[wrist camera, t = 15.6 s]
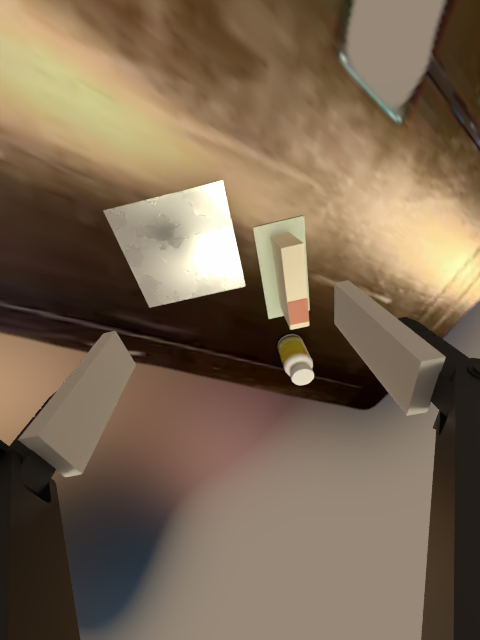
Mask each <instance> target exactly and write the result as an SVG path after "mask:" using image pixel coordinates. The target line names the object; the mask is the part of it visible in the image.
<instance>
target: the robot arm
mask: <svg viewBox="0 0 480 640" xmlns="http://www.w3.org/2000/svg"><path fill="white" fill-rule="evenodd" d="M335 325H336V326H337V327H338V329H339V330H340V331H341V332H342V334H343V335H344V336H345V338H346V339H347V340H348V341H349V343H350V344H351V345H352V347H353V348H354V349H355V350H356V352H357V353H358V354H359V355H360V357H361V358H362V359H363V361H364V362H365V363H366V364H367V366H368V367H369V368H370V370H371V371H372V372H373V373H374V375H375V376H376V377H377V378H378V380H379V381H380V382H381V384H382V385H383V386H384V387H385V389H386V390H387V391H388V393H389V394H390V395H391V396H392V398H393V399H394V400H395V401H396V403H397V404H398V405H399V407H400V408H401V409H402V410H403V412H404V413H405V414H406V415H414V414H419V413H424V412H427V411H428V409H429V406H430V403H431V402H432V403H433V404H434V405H435V406H436V407H437V408H438V409H439V413H438V415H437V418H436V421H435V423H434V426H433V428H434V429H436V443H435V456H434V471H433V485H432V498H431V512H430V526H429V540H428V553H427V568H426V582H425V595H424V597H425V598H424V610H423V624H422V637H421V640H480V359H477V358H468V357H467V356H465V355H464V354H462V353H461V352H460V351H458V350H457V349H455V348H454V347H453V346H451V345H450V344H448V343H447V342H446V341H444V340H443V339H442V338H440V337H439V336H436V334H435V333H433V332H432V331H431V330H428V328H426V327H425V326H424V325H422V324H421V323H419V322H417V321H415V320H412V319H410V318H407V317H403V318H398V319H397V318H396V317H394V316H393V315H392V314H390V313H389V312H388V311H387V310H385V309H384V308H383V307H382V306H380V305H379V304H378V303H376V302H375V301H374V300H373V299H371V298H370V297H369V296H368V295H366V294H365V293H364V292H362V291H361V290H360V289H359V288H357V287H356V286H355V285H354V284H352V283H351V282H350V281H348V280H347V281H343V282H338V283H335ZM135 365H136V364H135V362H134V361H133V359H132V357H131V356H130V354H129V352H128V351H127V349H126V347H125V346H124V344H123V342H122V341H121V339H120V338H119V336H118V334H117V333H116V331H113V332H108V333H104V334H103V335H102V336H101V337H100V339H99V340H98V341H97V342H96V343H95V345H94V346H93V347H92V348H91V350H90V351H89V352H88V353H87V355H86V356H85V357H84V358H83V360H82V361H81V362H80V363H79V365H78V366H77V367H76V368H75V369H74V371H73V372H72V373H71V374H70V376H69V377H68V378H67V379H66V381H65V382H64V383H63V384H62V386H61V387H60V388H59V389H58V391H56V392H55V393H54V394H53V395H52V396H51V397H49V399H48V400H47V401H46V402H45V403H44V405H43V406H42V409H40V410H39V411H38V412H37V413H36V414H35V417H33V418H32V419H31V420H30V422H29V423H28V424H27V425H26V427H25V428H24V429H23V430H22V431H21V433H20V434H19V435H18V436H17V438H16V439H15V440H14V441H13V443H12V444H11V445H10V446H8V445H7V444H5V443H4V442H3V441H1V440H0V640H80V635H79V629H78V623H77V616H76V609H75V603H74V596H73V590H72V584H71V577H70V571H69V565H68V558H67V552H66V545H65V539H64V533H63V526H62V519H61V513H60V507H59V501H58V494H57V487H56V483H55V481H54V480H53V479H51V477H52V476H53V474H54V472H55V470H57V471H58V472H59V473H60V474H62V475H63V476H64V477H68V476H74V475H80V474H82V473H83V471H84V469H85V467H86V465H87V463H88V461H89V459H90V457H91V455H92V453H93V451H94V449H95V447H96V445H97V443H98V441H99V439H100V437H101V435H102V433H103V431H104V429H105V427H106V425H107V422H108V420H109V418H110V416H111V414H112V412H113V410H114V408H115V406H116V404H117V402H118V400H119V398H120V396H121V394H122V392H123V390H124V388H125V386H126V384H127V382H128V380H129V377H130V376H131V374H132V371H133V369H134V367H135Z"/></svg>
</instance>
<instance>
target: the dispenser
mask: <svg viewBox="0 0 480 640" xmlns="http://www.w3.org/2000/svg"><path fill="white" fill-rule="evenodd" d="M103 211H104V213H105V215H106V218H107V220H108V222H109V224H110V226H111V228H112V230H113V232H114V234H115V236H116V239H117V241H118V243H119V245H120V247H121V249H122V251H123V253H124V255H125V257H126V259H127V262H128V264H129V266H130V268H131V270H132V272H133V274H134V276H135V278H136V280H137V282H138V285H139V287H140V289H141V291H142V293H143V295H144V297H145V299H146V301H147V303H148V305H149V308H150V307H155V306H159V305H164V304H168V303H173V302H177V301H182V300H186V299H191V298H195V297H200V296H204V295H209V294H213V293H218V292H222V291H227V290H231V289H236V288H240V287H245V281H244V276H243V271H242V266H241V261H240V256H239V252H238V247H237V242H236V238H235V233H234V228H233V224H232V219H231V215H230V210H229V205H228V201H227V196H226V191H225V187H224V182H223V181H219V182H215V183H211V184H207V185H203V186H199V187H195V188H191V189H187V190H183V191H179V192H175V193H171V194H167V195H163V196H159V197H155V198H151V199H147V200H143V201H139V202H135V203H131V204H127V205H123V206H119V207H115V208H111V209H107V210H103Z"/></svg>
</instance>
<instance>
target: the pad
mask: <svg viewBox="0 0 480 640" xmlns="http://www.w3.org/2000/svg"><path fill="white" fill-rule="evenodd" d="M253 232H254V238H255V243H256V249H257V255H258V261H259V267H260V272H261V278H262V284H263V290H264V295H265V301H266V307H267V313H268V318H269V319H271V318H275V317H280V316H284V314H283V312H282V310H281V307H280V302H279V295H278V288H277V281H276V273H275V266H274V259H273V252H272V244H271V237H270V236H274V235H278V234H282V233H286V232H290V233H291V234H292V235H294V236H295V237H296V238H298V239H299V240H300V241H302V242H303V243H304V253H305V268H306V283H307V298H308V311H309V310H310V307H309V290H308V274H307V258H306V242H305V225H304V216H299V217H295V218H291V219H286V220H282V221H278V222H274V223H269V224H265V225H261V226H257V227H253Z"/></svg>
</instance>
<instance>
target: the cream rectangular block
mask: <svg viewBox="0 0 480 640" xmlns="http://www.w3.org/2000/svg"><path fill="white" fill-rule="evenodd" d="M270 237H271V244H272V252H273V259H274V266H275V273H276V281H277V288H278V295H279V302H280V307H281V310H282V312H283V314H284V316H285V319H286V321H287V323H288V325H289V328H290V330H292V329H297V328H302V327H306V326H309V313H308V298H307V283H306V268H305V253H304V243H303V242H302V241H300V240H299V239H298V238H296V237H295V236H294V235H292V234H291V233H290V232H286V233H282V234H278V235H274V236H270Z"/></svg>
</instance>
